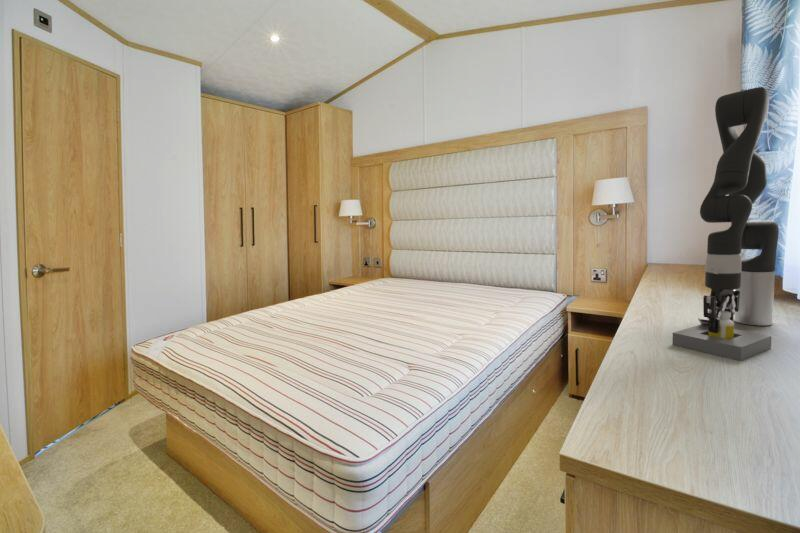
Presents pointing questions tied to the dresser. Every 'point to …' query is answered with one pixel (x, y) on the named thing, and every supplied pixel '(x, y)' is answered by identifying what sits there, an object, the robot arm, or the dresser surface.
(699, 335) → the socket block
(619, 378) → the dresser surface
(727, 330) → the supplement bottle
